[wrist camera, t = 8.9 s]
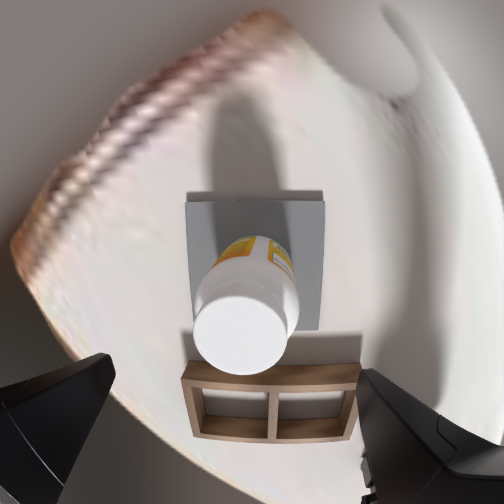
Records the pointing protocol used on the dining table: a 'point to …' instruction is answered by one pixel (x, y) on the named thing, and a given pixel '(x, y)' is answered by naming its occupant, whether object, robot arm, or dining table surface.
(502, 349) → the dining table surface
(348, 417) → the brown two-compartment frame
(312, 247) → the coaster
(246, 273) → the supplement bottle
